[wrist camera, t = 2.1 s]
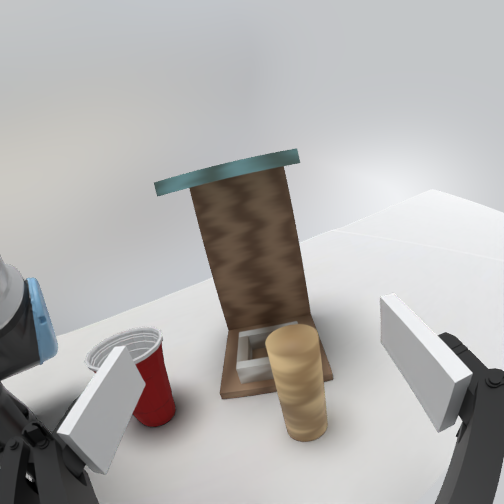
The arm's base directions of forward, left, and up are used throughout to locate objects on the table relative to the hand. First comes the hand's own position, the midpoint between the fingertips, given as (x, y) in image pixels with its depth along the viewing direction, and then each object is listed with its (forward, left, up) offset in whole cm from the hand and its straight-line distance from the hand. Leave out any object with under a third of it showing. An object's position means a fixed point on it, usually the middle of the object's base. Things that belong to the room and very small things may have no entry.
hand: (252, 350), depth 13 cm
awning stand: (-1, +25, -19) cm, 32 cm away
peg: (+2, +9, -19) cm, 21 cm away
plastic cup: (-18, +14, -19) cm, 30 cm away
